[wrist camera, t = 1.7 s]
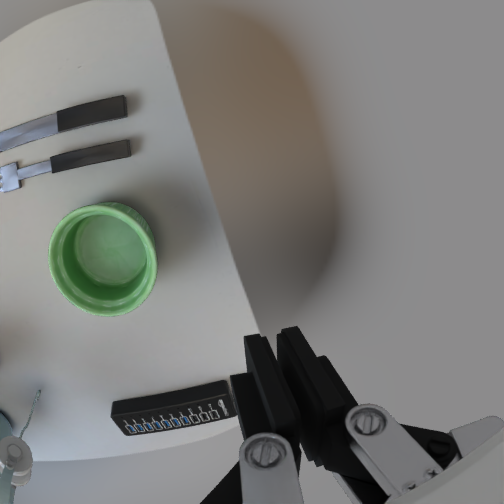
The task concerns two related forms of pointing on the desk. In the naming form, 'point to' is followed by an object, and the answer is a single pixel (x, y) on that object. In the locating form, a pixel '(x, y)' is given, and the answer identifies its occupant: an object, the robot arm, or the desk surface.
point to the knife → (65, 121)
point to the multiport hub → (174, 409)
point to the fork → (63, 163)
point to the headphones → (14, 464)
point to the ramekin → (103, 259)
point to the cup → (4, 428)
